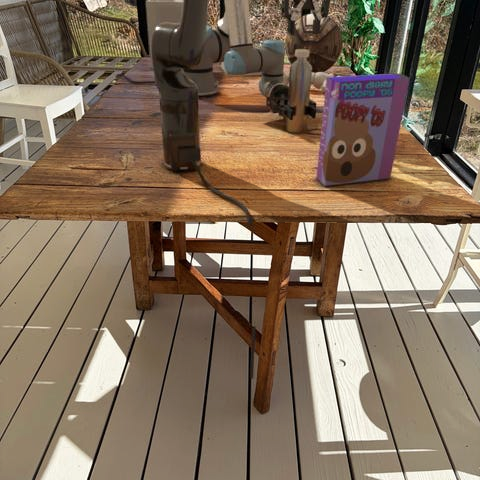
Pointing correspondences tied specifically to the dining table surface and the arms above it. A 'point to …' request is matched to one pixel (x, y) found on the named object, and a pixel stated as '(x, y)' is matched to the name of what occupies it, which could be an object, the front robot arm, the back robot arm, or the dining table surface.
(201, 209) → the dining table surface
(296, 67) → the bottle
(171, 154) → the front robot arm
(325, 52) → the sphere
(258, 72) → the disc drive
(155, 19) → the tall grey upright box
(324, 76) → the toy
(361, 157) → the cereal box
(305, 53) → the cap
